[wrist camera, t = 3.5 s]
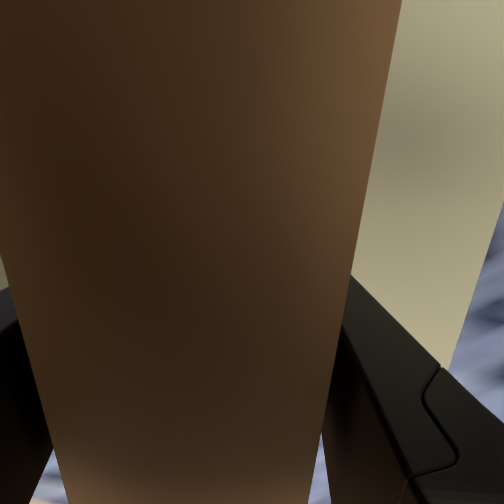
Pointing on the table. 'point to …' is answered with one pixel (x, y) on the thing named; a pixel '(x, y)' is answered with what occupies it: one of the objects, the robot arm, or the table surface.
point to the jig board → (436, 168)
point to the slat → (186, 231)
